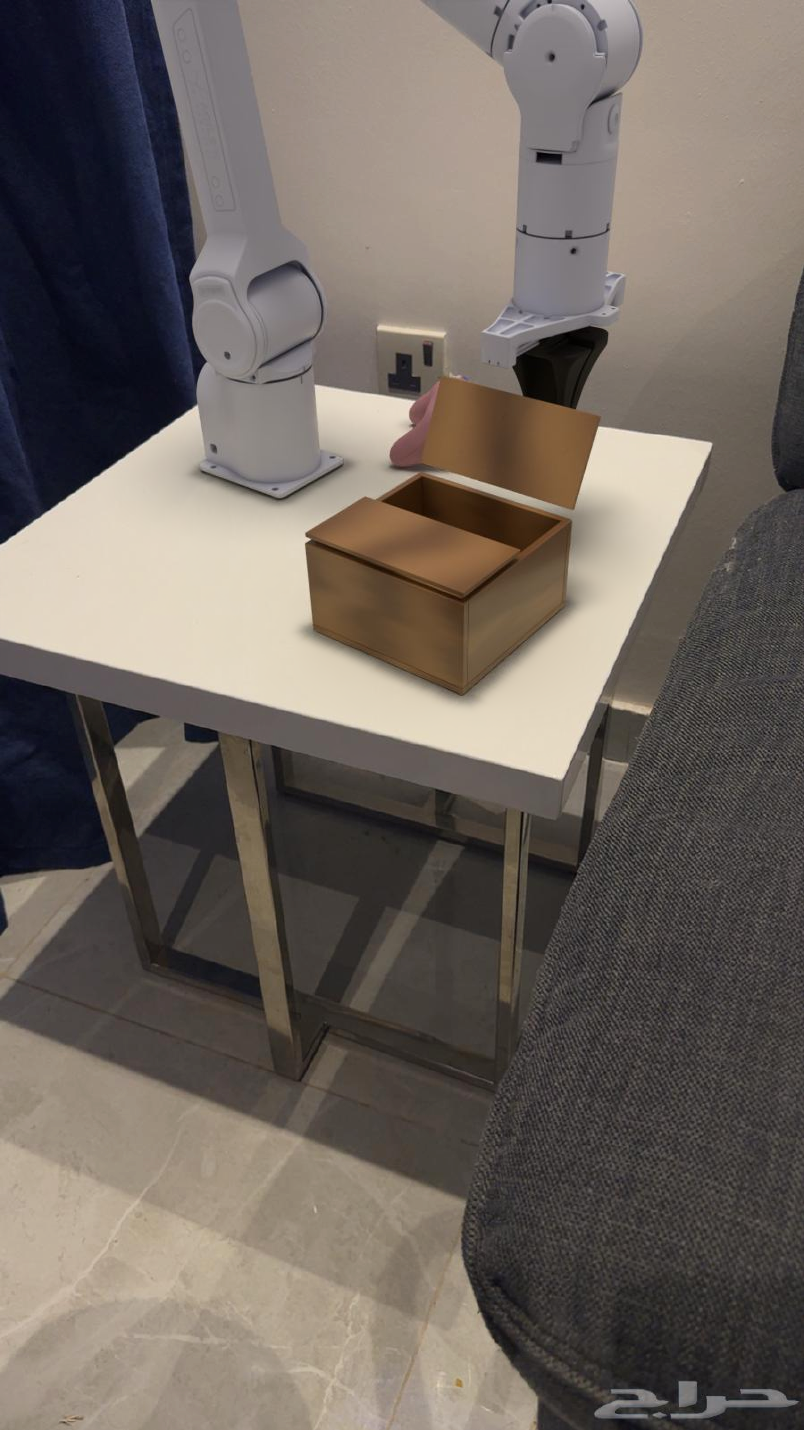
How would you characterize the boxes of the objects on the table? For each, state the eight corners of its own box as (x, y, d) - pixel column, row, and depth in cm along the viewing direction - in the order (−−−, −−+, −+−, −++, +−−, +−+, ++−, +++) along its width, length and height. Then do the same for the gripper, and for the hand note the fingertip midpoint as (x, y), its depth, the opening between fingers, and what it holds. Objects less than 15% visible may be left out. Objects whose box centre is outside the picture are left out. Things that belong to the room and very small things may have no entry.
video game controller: (431, 489, 86) (470, 420, 82) (383, 463, 85) (419, 392, 81) (451, 439, 94) (487, 373, 89) (406, 415, 93) (441, 347, 88)
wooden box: (312, 629, 68) (303, 532, 63) (422, 553, 75) (420, 461, 71) (462, 695, 62) (463, 594, 57) (565, 606, 69) (573, 509, 65)
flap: (441, 375, 69) (443, 375, 69) (420, 462, 70) (422, 462, 71) (599, 415, 63) (601, 416, 63) (572, 510, 65) (574, 510, 65)
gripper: (558, 267, 56) (543, 493, 65) (677, 209, 65) (650, 415, 74) (453, 248, 60) (452, 465, 68) (579, 195, 69) (564, 394, 77)
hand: (548, 438), depth 71 cm, fingers closed
